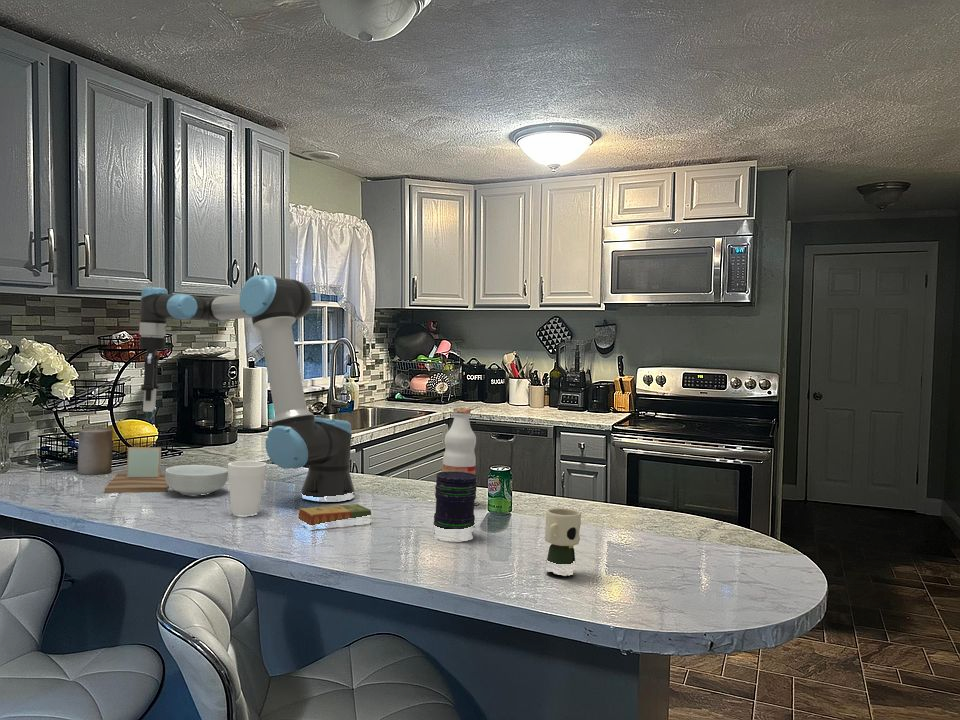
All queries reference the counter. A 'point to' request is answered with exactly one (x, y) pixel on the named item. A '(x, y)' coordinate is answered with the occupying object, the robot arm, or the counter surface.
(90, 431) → the pillar candle
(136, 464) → the tile
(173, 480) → the cereal bowl
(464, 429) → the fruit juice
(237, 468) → the foam cup
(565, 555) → the character mug
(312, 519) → the brown and green block
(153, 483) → the board
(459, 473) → the storage jar
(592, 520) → the counter surface
